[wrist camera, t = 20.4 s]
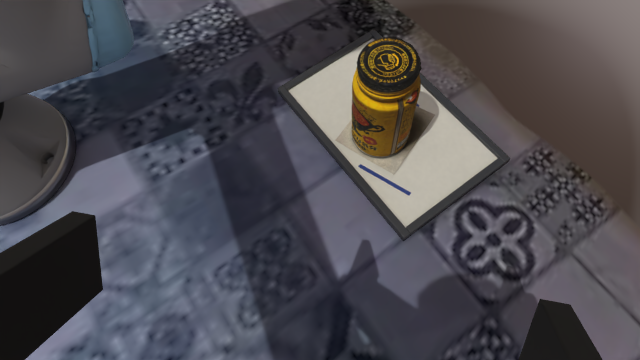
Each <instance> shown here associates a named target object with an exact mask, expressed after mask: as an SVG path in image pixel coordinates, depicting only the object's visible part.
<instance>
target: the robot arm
mask: <svg viewBox="0 0 640 360" xmlns="http://www.w3.org/2000/svg"><path fill="white" fill-rule="evenodd" d="M133 43H134V36H133V32H132V28H131V25H130V21H129V18H128V15H127V12H126V9H125V6H124V3H123V1H122V0H0V225H4V224H7V223H11V222H13V221H16V220H18V219H21V218H23V217H25V216H26V215H28V214H30V213H32V212H33V211H35V210H36V209H38V208H39V207H40V206H42V205H43V204H44V203H45V202H46V201H48V200H49V199H50V198H51V197H52V196H53V195H54V194H55V193H56V191H57V190H58V189H59V188H60V186H61V185H62V184H63V182H64V181H65V179H66V177H67V176H68V174H69V172H70V169H71V167H72V164H73V161H74V157H75V151H76V140H75V134H74V131H73V129H72V126H71V125H70V123H69V121H68V120H67V119H66V118H65V117H64V116H63V115H62V114H61V113H60V112H59V111H58V110H56V109H55V108H54V107H53V106H52V105H50V104H49V103H47V102H45V101H43V100H41V99H39V98H37V97H34V96H32V95H29V94H27V93H30V92H33V91H36V90H39V89H42V88H45V87H48V86H51V85H54V84H57V83H60V82H63V81H66V80H69V79H72V78H75V77H78V76H81V75H84V74H87V73H90V72H96V71H98V70H99V68H101V67H103V66H105V65H108V64H110V63H112V62H115V61H117V60H119V59H122V58H124V57H125V56H126V55H128V53H129V52H130V51H131V49H132V47H133ZM102 290H103V286H102V277H101V267H100V258H99V248H98V239H97V229H96V220H95V215H90V214H84V213H79V212H74V211H72V212H71V213H69V214H67V215H66V216H64V217H62V218H60V219H59V220H57V221H55V222H53V223H52V224H50V225H48V226H46V227H45V228H43V229H41V230H40V231H38V232H36V233H34V234H33V235H31V236H29V237H27V238H26V239H24V240H22V241H20V242H19V243H17V244H15V245H14V246H12V247H10V248H8V249H7V250H5V251H3V252H1V253H0V360H25V359H26V358H27V357H28V356H29V355H30V354H31V353H33V352H34V351H35V350H36V349H37V348H38V347H39V346H40V345H42V344H43V343H44V342H45V341H46V340H47V339H48V338H49V337H50V336H52V335H53V334H54V333H55V332H56V331H57V330H58V329H59V328H61V327H62V326H63V325H64V324H65V323H66V322H67V321H68V320H69V319H71V318H72V317H73V316H74V315H75V314H76V313H77V312H78V311H80V310H81V309H82V308H83V307H84V306H85V305H86V304H87V303H88V302H90V301H91V300H92V299H93V298H94V297H95V296H96V295H97V294H99V293H100V292H101V291H102ZM519 360H602V358H601V356H600V355H599V353H598V351H597V350H596V348H595V346H594V344H593V343H592V341H591V339H590V338H589V336H588V334H587V332H586V331H585V329H584V327H583V326H582V324H581V322H580V320H579V319H578V317H577V315H576V314H575V312H574V310H573V308H572V307H571V305H569V304H564V303H559V302H553V301H548V300H543V299H540V301H539V303H538V306H537V309H536V312H535V315H534V318H533V320H532V323H531V326H530V329H529V332H528V335H527V337H526V340H525V343H524V346H523V349H522V352H521V354H520V357H519Z"/></svg>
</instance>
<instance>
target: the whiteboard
mask: <svg viewBox="0 0 640 360" xmlns="http://www.w3.org/2000/svg"><path fill="white" fill-rule="evenodd" d="M379 38H383V37H382V36H381V35H380V34H379V33H378V32H376V31H375V30H374V29H373V30H372V31H370V32H368V33H366V34H365V35H363V36H361V37H360V38H358V39H357V40H355V41H353V42H352V43H350V44H348V45H347V46H345V47H344V48H342V49H340V50H339V51H337V52H335V53H334V54H332V55H331V56H329V57H327V58H326V59H324V60H322V61H321V62H319V63H318V64H316V65H314V66H313V67H311V68H310V69H308V70H306V71H305V72H303V73H301V74H300V75H298V76H297V77H295V78H293V79H292V80H290V81H288V82H287V83H285V84H284V85H282V86H281V87H279V88H278V92H279V94H280V95H281V97H282V98H283V99H284V100H285V101H286V103H287V104H288V105H289V106H290V107H291V108H292V110H293V111H294V112H295V113H296V114H297V116H298V117H299V118H300V119H301V120H302V122H303V123H304V124H305V125H306V126H307V127H308V129H309V130H310V131H311V132H312V133H313V135H314V136H315V137H316V138H317V139H318V141H319V142H320V143H321V144H322V145H323V146H324V148H325V149H326V150H327V151H328V152H329V154H330V155H331V156H332V157H333V158H334V159H335V161H336V162H337V163H338V164H339V165H340V167H341V168H342V169H343V170H344V171H345V173H346V174H347V175H348V176H349V177H350V178H351V180H352V181H353V182H354V183H355V184H356V186H357V187H358V188H359V189H360V190H361V192H362V193H363V194H364V195H365V196H366V197H367V199H368V200H369V201H370V202H371V203H372V205H373V206H374V207H375V208H376V209H377V210H378V212H379V213H380V214H381V215H382V216H383V218H384V219H385V220H386V221H387V222H388V224H389V225H390V226H391V227H392V228H393V229H394V231H395V232H396V233H397V234H398V235H399V237H400V238H401V239H402V240H403V241H404V240H405V239H407V238H408V237H409V236H411V235H412V234H413V233H415V232H416V231H417V230H419V229H420V228H421V227H423V226H424V225H425V224H427V223H428V222H429V221H431V220H432V219H433V218H435V217H436V216H437V215H439V214H440V213H441V212H442V211H444V210H445V209H446V208H448V207H449V206H450V205H452V204H453V203H454V202H456V201H457V200H458V199H460V198H461V197H462V196H464V195H465V194H466V193H468V192H469V191H470V190H472V189H473V188H474V187H476V186H477V185H478V184H480V183H481V182H482V181H484V180H485V179H486V178H488V177H489V176H490V175H491V174H493V173H494V172H495V171H497V170H498V169H499V168H501V167H502V166H503V165H505V164H506V163H507V162H508V161H509V160H510V157H508V156H507V155H506V154H505V153H504V152H503V151H502V150H501V149H500V148H499V147H498V146H497V145H496V144H495V143H494V142H493V141H492V140H491V139H489V138H488V137H487V136H486V135H485V134H484V133H483V132H482V131H481V130H480V129H479V128H478V127H477V126H476V125H475V124H474V123H473V122H472V121H470V120H469V119H468V118H467V117H466V116H465V115H464V114H463V113H462V112H461V111H460V110H459V109H458V108H457V107H456V106H455V105H454V104H453V103H451V102H450V101H449V100H448V99H447V98H446V97H445V96H444V95H443V94H442V93H441V92H440V91H439V90H438V89H437V88H436V87H435V86H433V85H432V84H431V83H430V82H429V81H428V80H427V79H426V78H425V77H424V76H423V75H422V74H421V73H420V76H419V77H420V79H421V89H420V93H419V97H418V101H417V105H416V106H418V107H419V108H422V109H424V110H426V111H428V112H430V113H432V114H435V116H434V118H433V119H432V120H431V122H430V123H429V125H428V126H427V128H426V129H425V131H424V132H423V134H422V135H421V136H420V138H419V139H418V141H417V142H416V144H415V145H414V147H413V148H412V149H411V151H410V153H409V154H408V155H407V157H406V158H405V160H404V161H403V162H402V164H401V165H400V167H399V168H398V170H397V171H396V172H395V174H392V173H390V172H389V171H387V170H385V169H383V168H382V167H380V166H378V165H376V164H374V163H372V162H371V161H369V160H367V159H366V158H364V157H362V156H360V155H359V154H357V153H355V152H354V151H352V150H350V149H349V148H347V147H345V146H344V145H342V144H340V143H339V142H337V141H335V139H337V137H338V136H339V135H340V134H341V132H342V131H343V130H344V129H345V127H346V126H347V125H348V123H349V122H350V121H351V119H352V82H353V77H354V74H355V71H356V68H357V61H358V56H359V54H360V52H361V51H362V49H363V48H364V47H365V46H366V45H367V44H368V43H369V42H372V41H374V40H377V39H379Z"/></svg>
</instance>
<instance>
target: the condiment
mask: <svg viewBox="0 0 640 360" xmlns="http://www.w3.org/2000/svg"><path fill="white" fill-rule="evenodd" d="M420 70H421V62H420V58H419V56H418V53H417V52H416V50H415V49H414V47H413V46H412V45H411V44H409V43H407V42H405V41H403V40H402V39H398V38H394V37H387V38H379V39H377V40H374V41H372V42H369V43H368V44H367V45H366V46H365V47H364V48H363V49H362V51H361V52H360V54H359V56H358V61H357V68H356V71H355V74H354V77H353V82H352V119H351V121H350V122H349V123H348V125H347V126H346V127H345V129H344V130H343V131H342V132H341V134H340V135H339V136H338V137H337V139H335V141H337V142H339V143H340V144H342V145H344V146H345V147H347V148H349V149H350V150H352V151H354V152H355V153H357V154H359V155H360V156H362V157H364V158H366V159H367V160H369V161H371V162H372V163H374V164H376V165H378V166H380V167H382V168H383V169H385V170H387V171H389V172H390V173H392V174H395V172H396V171H397V170H398V168H399V167H400V165H401V164H402V162H403V161H404V160H405V158H406V157H407V155H408V154H409V153H410V151H411V149H412V148H413V147H414V145H415V144H416V142H417V141H418V139H419V138H420V136H421V135H422V134H423V132H424V131H425V129H426V128H427V126H428V125H429V123H430V122H431V120H432V119H433V118H434V116H435V114H432V113H430V112H428V111H426V110H424V109H422V108H419V107H418V106H416V105H417V101H418V97H419V93H420V89H421V79H420V77H419V76H420Z"/></svg>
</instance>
